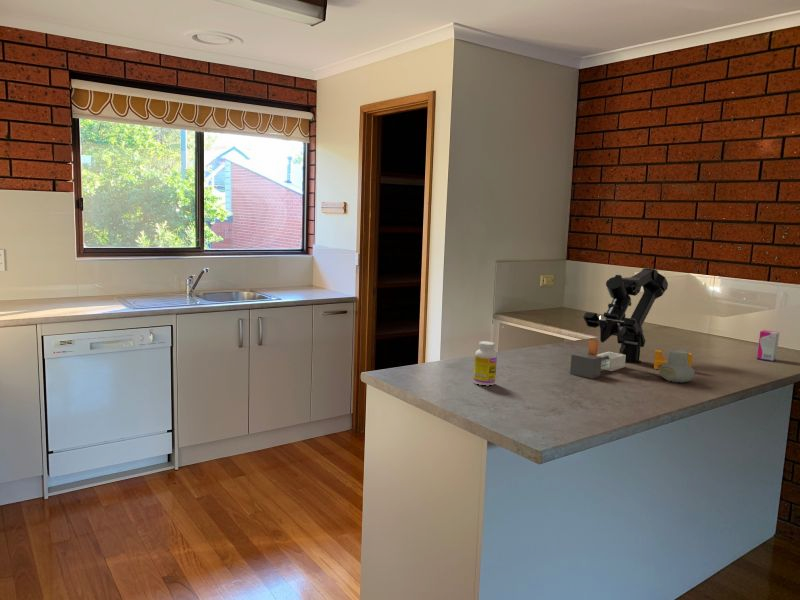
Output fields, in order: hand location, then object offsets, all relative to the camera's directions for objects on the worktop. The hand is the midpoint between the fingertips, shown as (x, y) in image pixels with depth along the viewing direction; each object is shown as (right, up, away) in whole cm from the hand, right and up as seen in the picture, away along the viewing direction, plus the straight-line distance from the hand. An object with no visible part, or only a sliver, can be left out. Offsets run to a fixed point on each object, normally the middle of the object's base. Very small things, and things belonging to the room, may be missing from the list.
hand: (601, 341), depth 217 cm
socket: (-8, -11, -6) cm, 15 cm away
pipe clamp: (+28, -11, +8) cm, 31 cm away
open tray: (+5, -10, +7) cm, 13 cm away
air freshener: (+22, -13, -8) cm, 27 cm away
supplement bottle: (-44, -12, -24) cm, 51 cm away
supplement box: (+77, -10, +34) cm, 85 cm away
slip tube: (-3, -9, -1) cm, 10 cm away
